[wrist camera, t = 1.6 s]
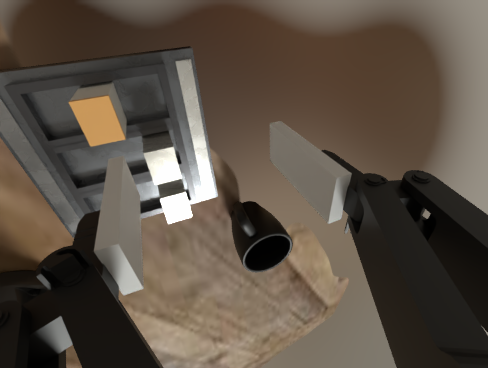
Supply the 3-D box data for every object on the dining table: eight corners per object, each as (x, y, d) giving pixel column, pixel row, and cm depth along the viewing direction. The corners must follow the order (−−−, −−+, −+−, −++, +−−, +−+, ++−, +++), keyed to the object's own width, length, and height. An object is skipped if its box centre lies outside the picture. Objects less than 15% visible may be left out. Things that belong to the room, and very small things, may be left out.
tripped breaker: (97, 125, 26) (90, 146, 22) (79, 86, 24) (68, 102, 20) (126, 119, 27) (125, 139, 23) (112, 81, 25) (108, 95, 20)
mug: (248, 170, 39) (275, 207, 31) (272, 214, 46) (298, 252, 39) (203, 198, 39) (220, 241, 31) (235, 237, 46) (255, 280, 39)
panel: (75, 229, 34) (65, 267, 29) (-33, 74, 22) (-82, 93, 17) (215, 190, 39) (227, 217, 34) (189, 46, 27) (202, 54, 22)
